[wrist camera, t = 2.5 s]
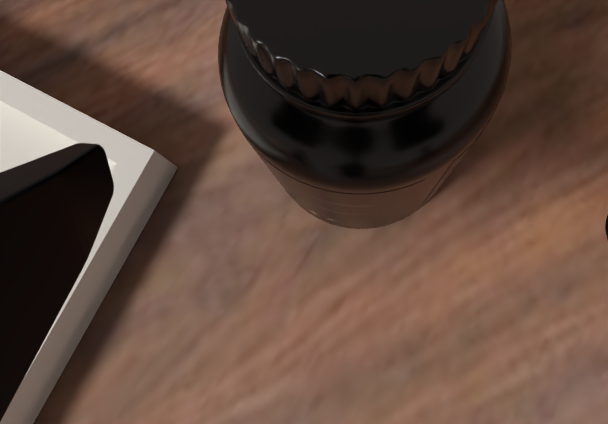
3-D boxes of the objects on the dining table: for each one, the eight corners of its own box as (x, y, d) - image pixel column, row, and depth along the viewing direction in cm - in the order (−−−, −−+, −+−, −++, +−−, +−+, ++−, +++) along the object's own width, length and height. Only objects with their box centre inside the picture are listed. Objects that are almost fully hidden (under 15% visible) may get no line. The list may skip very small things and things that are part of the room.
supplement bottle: (322, 35, 21) (281, -297, 9) (479, 106, 20) (662, -166, 8) (240, 183, 20) (84, 32, 9) (398, 265, 19) (470, 221, 7)
